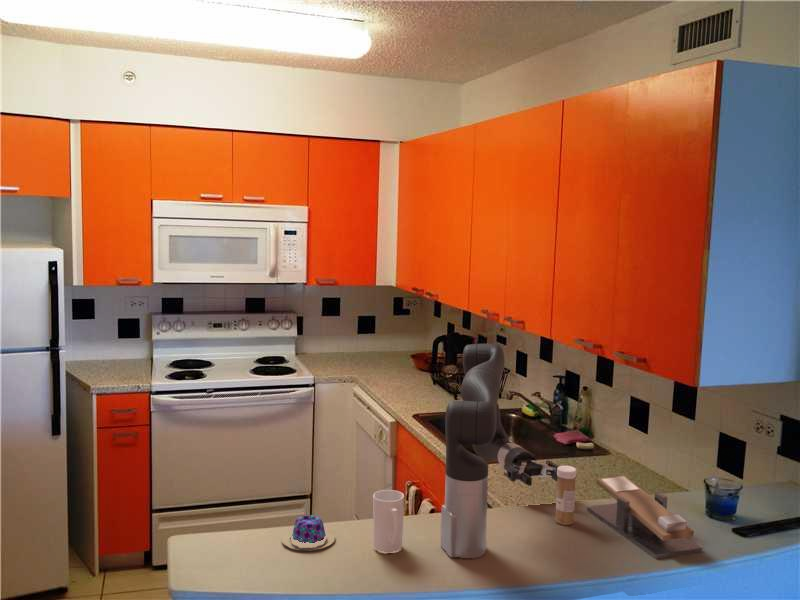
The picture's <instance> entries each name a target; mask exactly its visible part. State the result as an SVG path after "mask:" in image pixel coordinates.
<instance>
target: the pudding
mask: <svg viewBox="0 0 800 600" xmlns="http://www.w3.org/2000/svg"><path fill="white" fill-rule="evenodd" d="M292 531H293V533H292V536H293V539H294V540H298V541H299V542H302V543H303V542H304V543H306V542H309V543H315V542H317V541H321V540H323V539H324V537H325V536H326V533H325V526H324V523H323V520H322V518H320V517H319V516H318V515H312V514H308V515H302V516H300V517H298V518H296V520H295V521H294V524H293V530H292Z"/></svg>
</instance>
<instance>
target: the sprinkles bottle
mask: <svg viewBox="0 0 800 600" xmlns="http://www.w3.org/2000/svg"><path fill="white" fill-rule="evenodd" d="M558 466H559V467H558V468H557V477H558V479H557V480H558V481H556V483H557V484H556V485H557V486H556V498H555V499H556V501H555V518H554V521H555V522H556V523H557V524H559V525H563V526H570V525H573V524H574V523H575V519H574V516H575V504H576V480H577V471H578V470H577V468H576V467H574V466H571V465H558Z"/></svg>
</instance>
